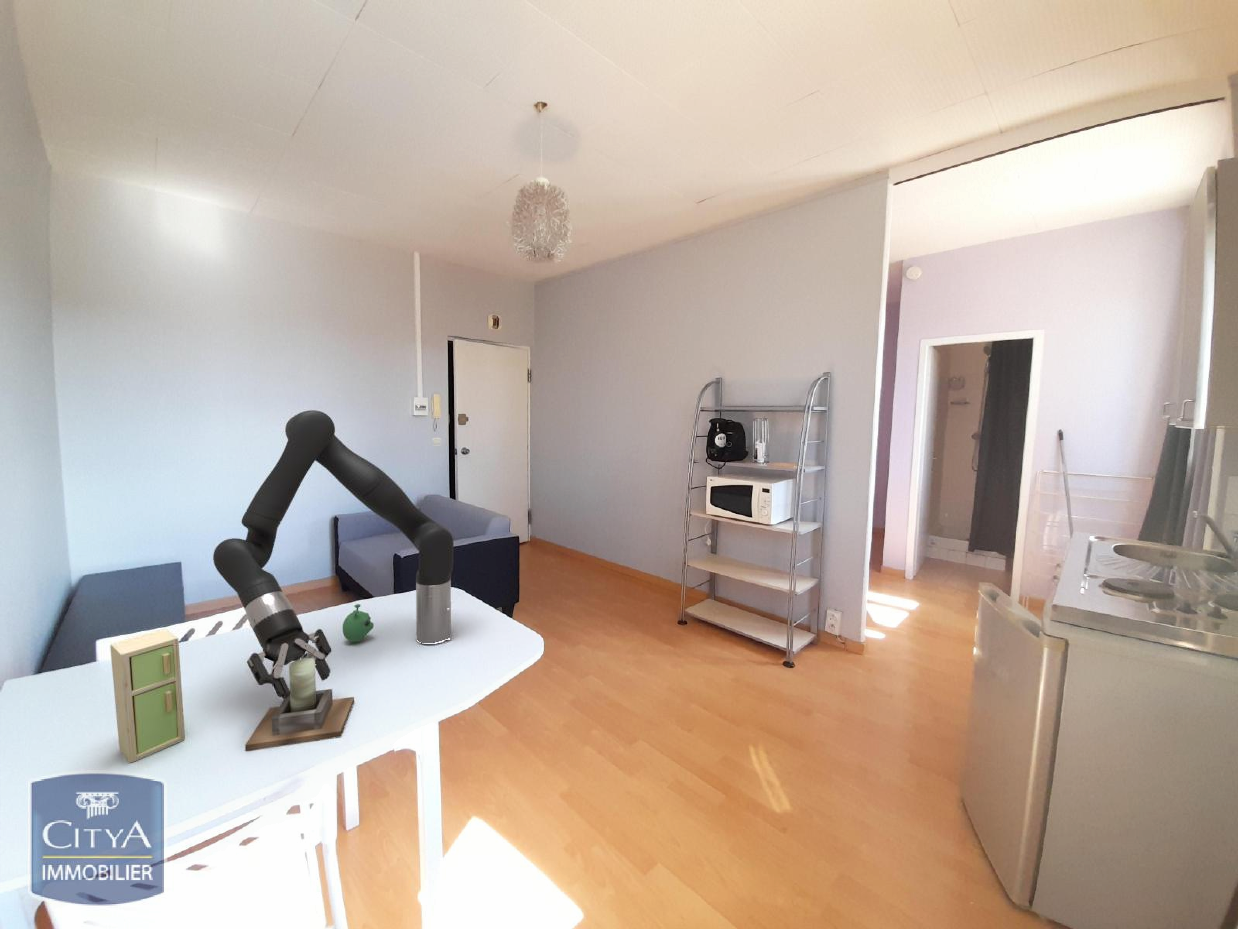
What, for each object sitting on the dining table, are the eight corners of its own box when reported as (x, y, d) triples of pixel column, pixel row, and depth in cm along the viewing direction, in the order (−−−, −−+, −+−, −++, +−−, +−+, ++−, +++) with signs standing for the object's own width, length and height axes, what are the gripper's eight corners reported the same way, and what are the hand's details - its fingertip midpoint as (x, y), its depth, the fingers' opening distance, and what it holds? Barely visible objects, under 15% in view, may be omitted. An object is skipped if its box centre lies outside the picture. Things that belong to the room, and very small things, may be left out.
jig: (354, 701, 107) (353, 682, 106) (340, 736, 95) (340, 714, 95) (269, 713, 102) (269, 692, 101) (245, 751, 90) (244, 727, 90)
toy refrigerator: (129, 766, 86) (121, 655, 83) (117, 750, 89) (109, 643, 87) (187, 741, 92) (181, 638, 90) (173, 727, 96) (167, 627, 94)
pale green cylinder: (319, 710, 101) (317, 656, 100) (312, 723, 97) (311, 667, 96) (295, 714, 100) (293, 659, 99) (287, 727, 96) (285, 670, 94)
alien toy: (372, 644, 133) (372, 610, 132) (341, 648, 130) (340, 613, 129) (374, 633, 139) (374, 600, 138) (344, 637, 136) (344, 603, 135)
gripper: (240, 622, 93) (275, 696, 89) (315, 598, 106) (349, 662, 102) (227, 641, 96) (261, 714, 92) (301, 616, 109) (334, 679, 105)
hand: (307, 686), depth 97 cm, fingers open, 7 cm apart
